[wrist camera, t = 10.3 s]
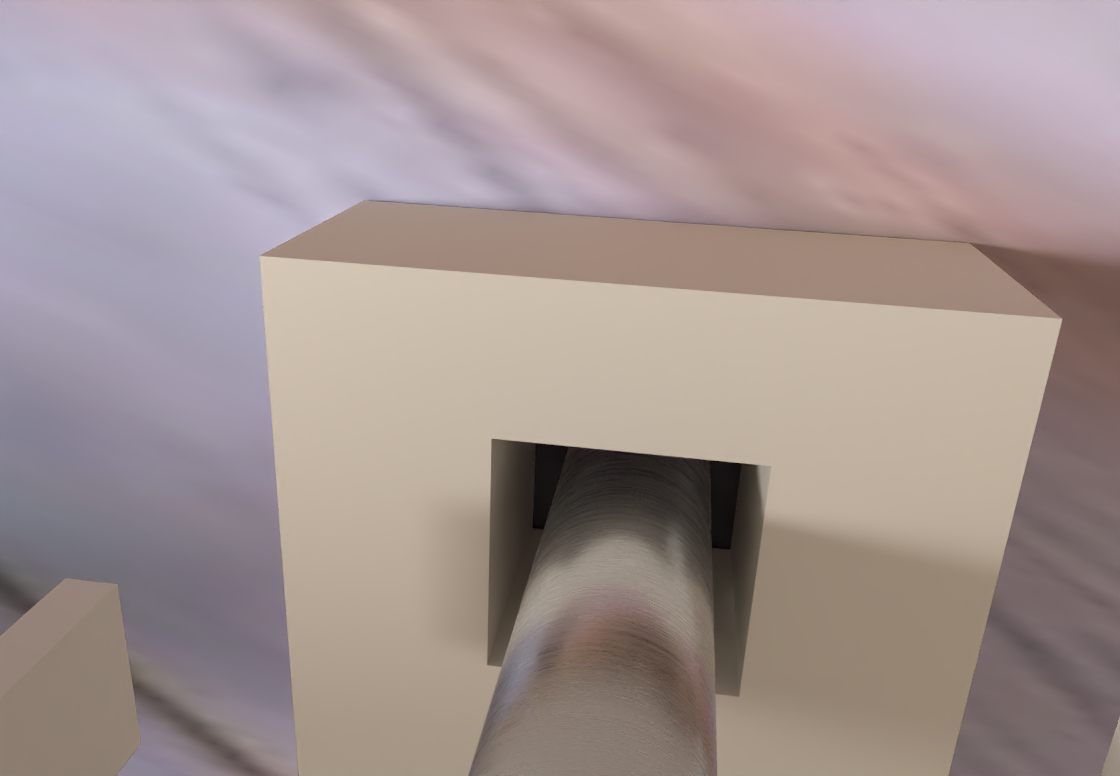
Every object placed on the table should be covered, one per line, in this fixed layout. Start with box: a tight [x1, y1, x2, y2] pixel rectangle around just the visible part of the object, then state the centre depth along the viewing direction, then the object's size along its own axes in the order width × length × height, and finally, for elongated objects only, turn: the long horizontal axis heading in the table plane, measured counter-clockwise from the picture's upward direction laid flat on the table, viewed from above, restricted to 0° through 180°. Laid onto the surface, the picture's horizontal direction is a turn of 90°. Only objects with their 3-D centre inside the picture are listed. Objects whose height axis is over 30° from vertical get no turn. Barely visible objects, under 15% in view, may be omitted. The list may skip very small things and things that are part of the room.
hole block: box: [260, 200, 1062, 776], centre depth 20 cm, size 12×21×5 cm, turn 177°
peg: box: [468, 446, 717, 776], centre depth 15 cm, size 3×3×13 cm
